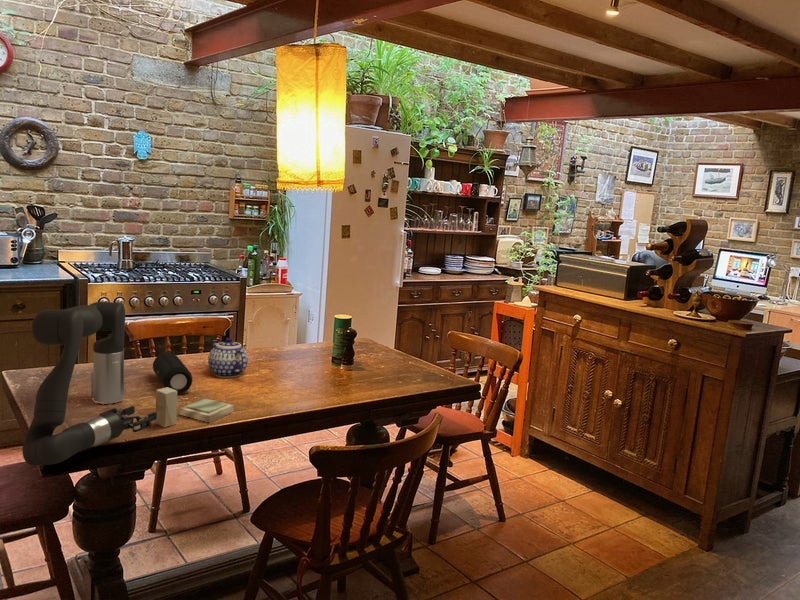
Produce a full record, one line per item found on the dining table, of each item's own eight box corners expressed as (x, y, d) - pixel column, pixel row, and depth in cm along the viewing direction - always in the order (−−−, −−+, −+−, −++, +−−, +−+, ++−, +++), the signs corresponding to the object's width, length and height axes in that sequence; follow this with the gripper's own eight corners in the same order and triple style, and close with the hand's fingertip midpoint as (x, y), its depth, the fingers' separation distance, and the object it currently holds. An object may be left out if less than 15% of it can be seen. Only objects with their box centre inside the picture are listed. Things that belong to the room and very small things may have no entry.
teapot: (260, 380, 248) (261, 343, 246) (223, 385, 239) (225, 347, 236) (230, 363, 267) (232, 329, 264) (196, 368, 257) (197, 332, 255)
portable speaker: (151, 377, 243) (151, 351, 241) (178, 375, 248) (179, 349, 246) (164, 398, 221) (164, 370, 219) (193, 395, 226) (194, 368, 224)
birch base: (179, 415, 206) (179, 406, 205) (204, 405, 217) (204, 396, 216) (209, 423, 201) (209, 414, 201) (233, 412, 212) (233, 403, 212)
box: (154, 424, 197) (155, 389, 195) (166, 420, 201) (167, 386, 199) (165, 428, 194) (166, 393, 193) (177, 424, 198) (178, 390, 196)
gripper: (119, 422, 171) (163, 404, 185) (80, 411, 176) (126, 395, 191) (119, 448, 172) (163, 429, 187) (80, 437, 177) (126, 419, 192)
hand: (144, 412), depth 189 cm, fingers open, 8 cm apart
